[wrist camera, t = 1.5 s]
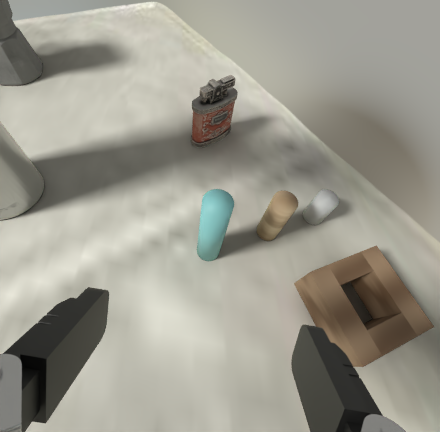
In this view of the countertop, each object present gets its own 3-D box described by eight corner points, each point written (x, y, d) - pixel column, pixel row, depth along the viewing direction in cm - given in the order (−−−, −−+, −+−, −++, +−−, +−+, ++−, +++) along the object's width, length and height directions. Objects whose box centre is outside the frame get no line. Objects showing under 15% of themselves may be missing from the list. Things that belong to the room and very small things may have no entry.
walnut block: (294, 283, 33) (310, 272, 29) (353, 259, 36) (376, 245, 32) (336, 365, 29) (363, 366, 25) (400, 331, 32) (434, 326, 28)
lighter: (198, 151, 43) (202, 98, 34) (186, 138, 44) (187, 84, 35) (234, 132, 46) (245, 79, 37) (222, 121, 47) (230, 67, 38)
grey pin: (299, 210, 39) (313, 192, 35) (315, 205, 40) (331, 187, 36) (309, 227, 38) (325, 210, 34) (325, 221, 39) (343, 204, 35)
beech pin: (253, 225, 37) (268, 194, 30) (271, 219, 38) (290, 188, 31) (262, 243, 36) (280, 215, 29) (280, 237, 37) (302, 208, 30)
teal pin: (193, 243, 35) (197, 193, 24) (214, 237, 35) (226, 186, 25) (201, 264, 33) (208, 220, 23) (222, 256, 34) (239, 211, 24)
